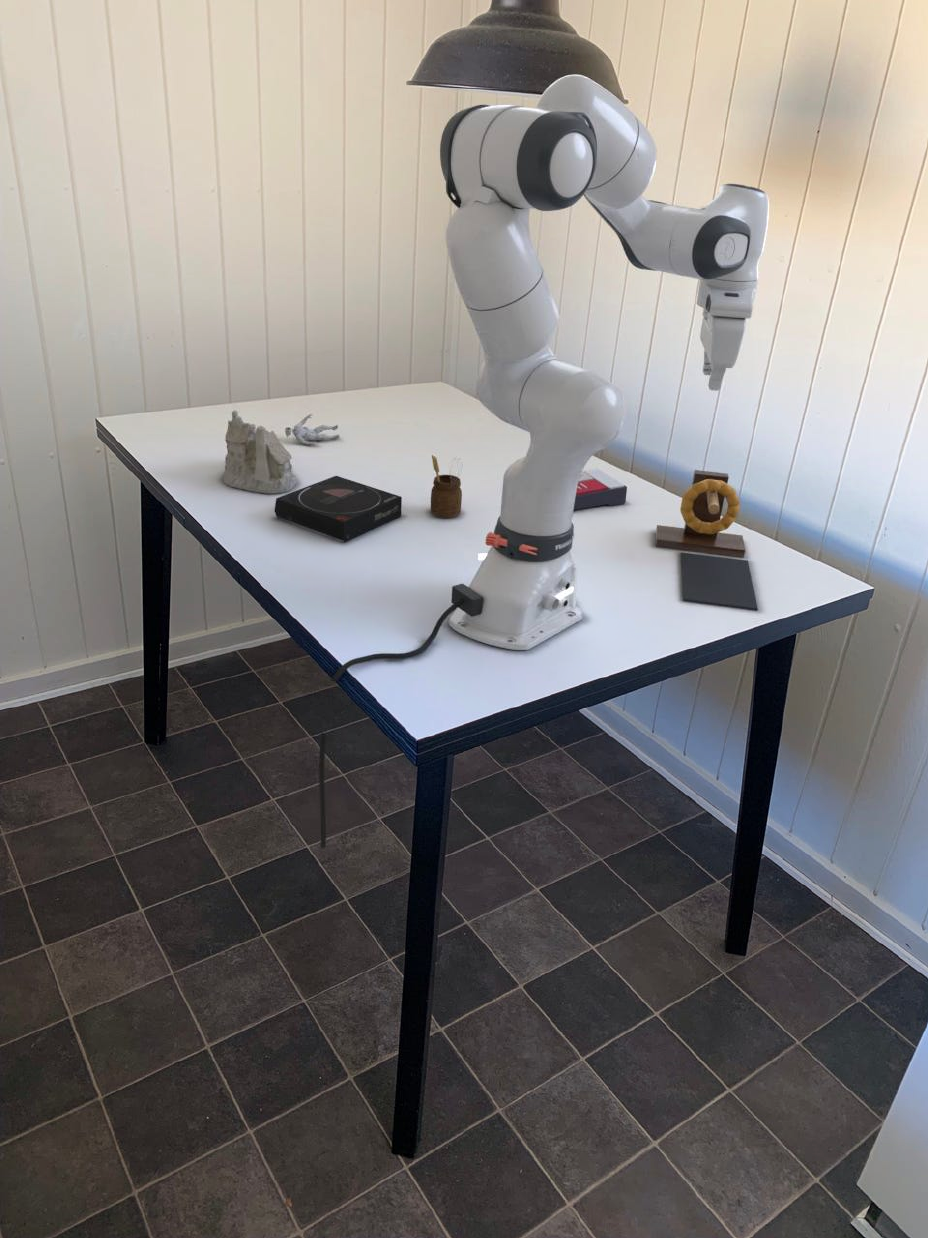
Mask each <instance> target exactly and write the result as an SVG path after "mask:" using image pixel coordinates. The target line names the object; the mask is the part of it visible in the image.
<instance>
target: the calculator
mask: <svg viewBox="0 0 928 1238" xmlns="http://www.w3.org/2000/svg"><path fill="white" fill-rule="evenodd" d="M627 493H628V486H626V485H625V484H624V483H622V482H621V481H619V480H618V479H616V478H614V477H613V476H611V475H609V474H608V473H606V472H605V471H603V470H601V469H600V468H593V469H588V470H584V471H582V473H581V475H580V478H579V481H578V485H577V491H576V497H575V503H574V509H573V511H577V510H583V509H588V508H589V509H590V508H593V507H598V506H599V507H600V506H605V505H607V506H610V507H612V506H613V507H614V506H617V505H623V504H626V502H627V500H626V499H627Z"/></svg>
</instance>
